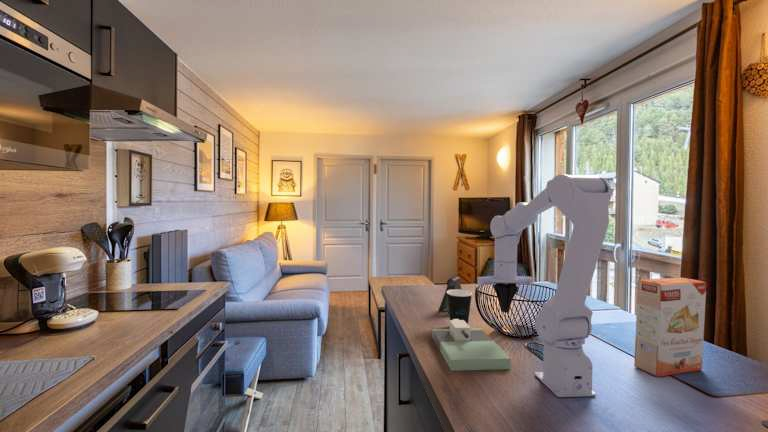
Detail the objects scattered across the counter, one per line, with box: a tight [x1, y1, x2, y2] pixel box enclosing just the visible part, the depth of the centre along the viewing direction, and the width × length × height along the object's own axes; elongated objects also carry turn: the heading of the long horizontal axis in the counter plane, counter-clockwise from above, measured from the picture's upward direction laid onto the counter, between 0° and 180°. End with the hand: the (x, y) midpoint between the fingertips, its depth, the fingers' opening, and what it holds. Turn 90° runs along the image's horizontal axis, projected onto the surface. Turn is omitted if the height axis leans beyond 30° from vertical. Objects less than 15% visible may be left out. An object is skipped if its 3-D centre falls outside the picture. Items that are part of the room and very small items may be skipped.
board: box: [432, 327, 512, 372], centre depth 90 cm, size 20×14×2 cm
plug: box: [448, 319, 472, 342], centre depth 92 cm, size 10×4×6 cm, turn 4°
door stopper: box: [438, 276, 463, 314], centre depth 125 cm, size 9×6×12 cm, turn 57°
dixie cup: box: [446, 289, 473, 325], centre depth 108 cm, size 8×8×11 cm
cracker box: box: [633, 277, 708, 378], centre depth 81 cm, size 14×6×21 cm, turn 105°
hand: (504, 311), depth 93 cm, fingers closed
